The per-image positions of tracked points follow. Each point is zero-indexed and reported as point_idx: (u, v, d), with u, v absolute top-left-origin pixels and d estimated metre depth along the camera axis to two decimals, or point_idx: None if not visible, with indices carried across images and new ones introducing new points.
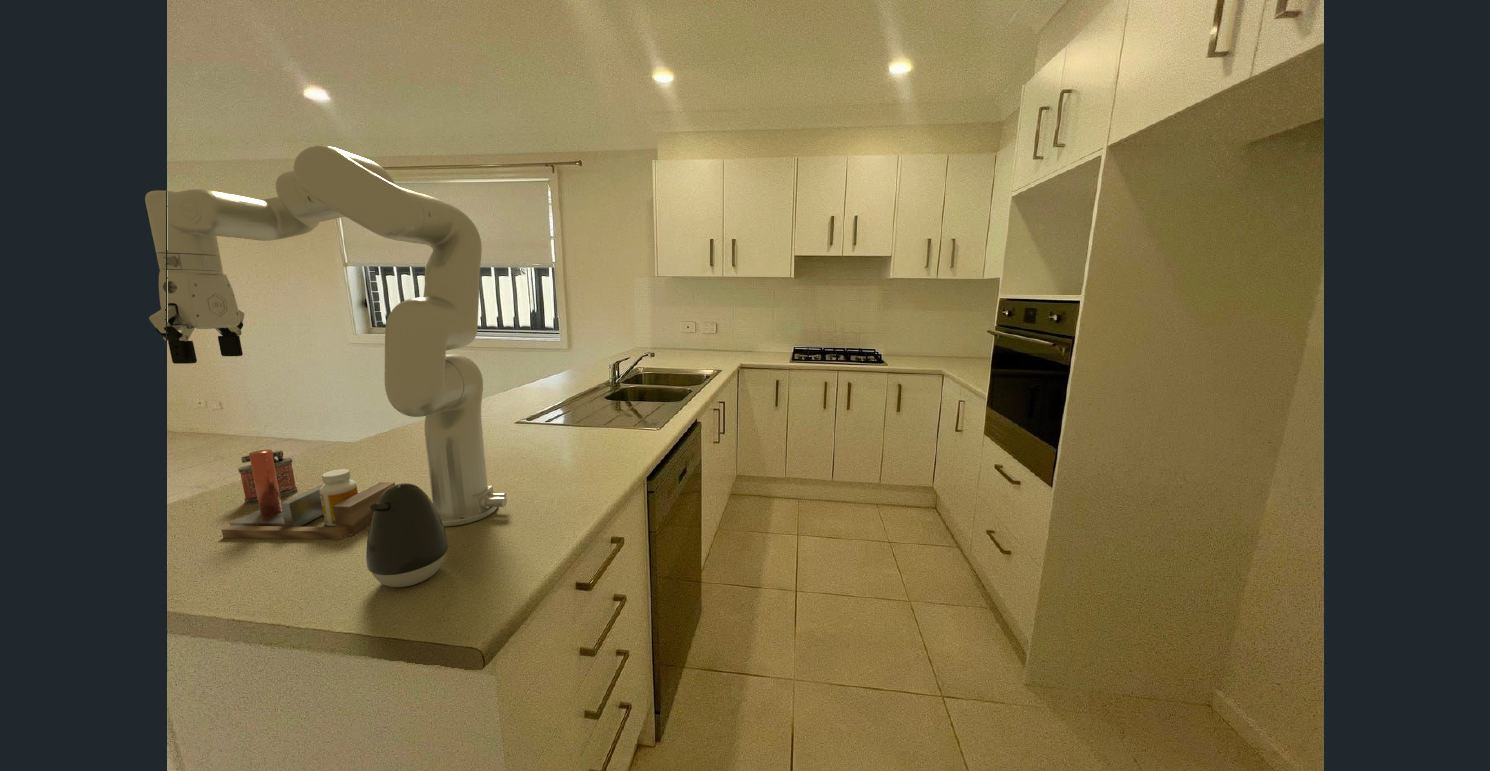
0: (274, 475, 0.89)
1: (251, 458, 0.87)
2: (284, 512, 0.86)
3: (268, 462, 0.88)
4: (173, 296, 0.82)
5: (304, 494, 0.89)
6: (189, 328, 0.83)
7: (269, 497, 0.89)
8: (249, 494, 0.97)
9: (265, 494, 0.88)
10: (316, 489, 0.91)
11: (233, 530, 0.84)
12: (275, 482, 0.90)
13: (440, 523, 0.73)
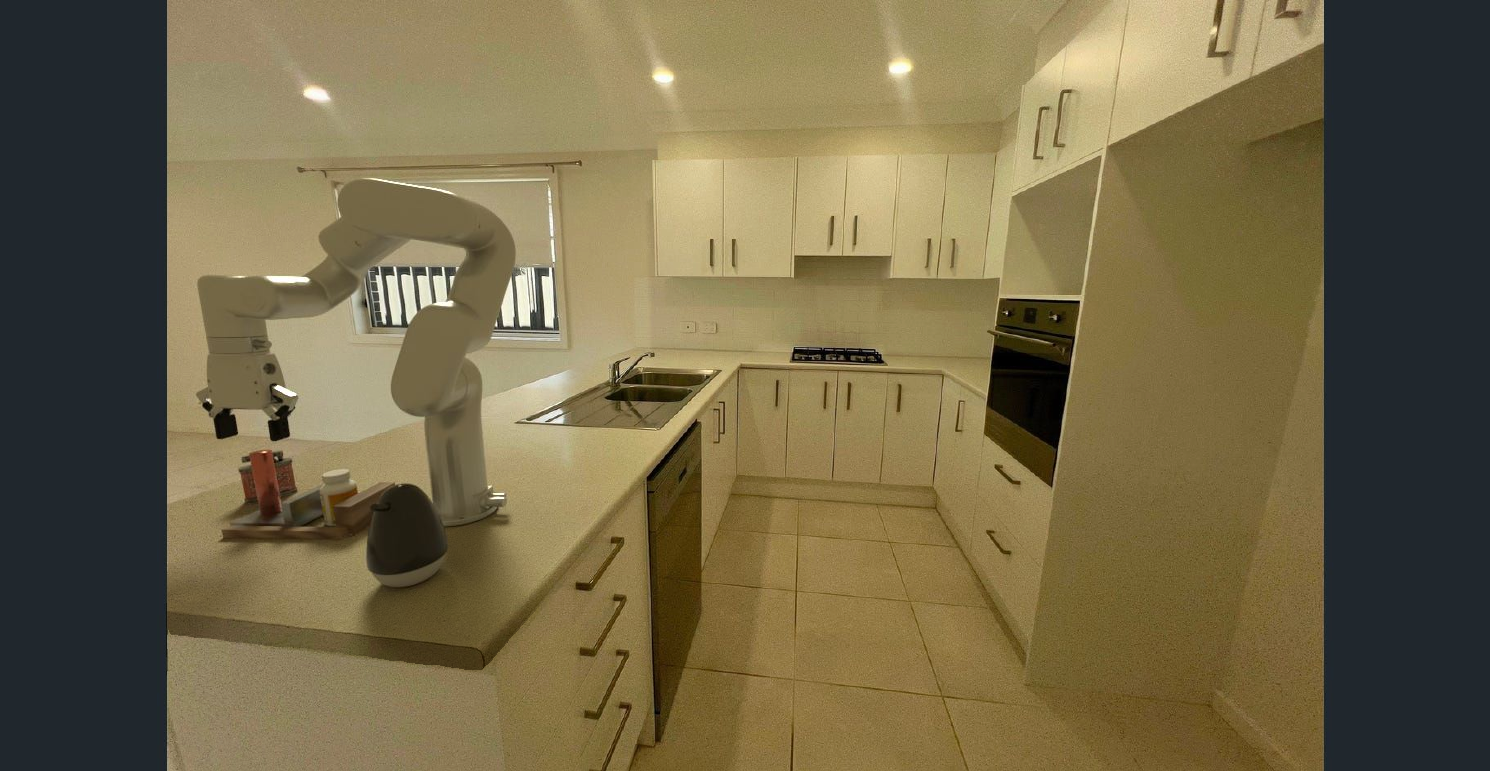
0: (274, 475, 0.89)
1: (251, 458, 0.87)
2: (284, 512, 0.86)
3: (268, 462, 0.88)
4: (274, 376, 0.86)
5: (304, 494, 0.89)
6: None
7: (269, 497, 0.89)
8: (249, 494, 0.97)
9: (265, 494, 0.88)
10: (316, 489, 0.91)
11: (233, 530, 0.84)
12: (275, 482, 0.90)
13: (440, 523, 0.73)
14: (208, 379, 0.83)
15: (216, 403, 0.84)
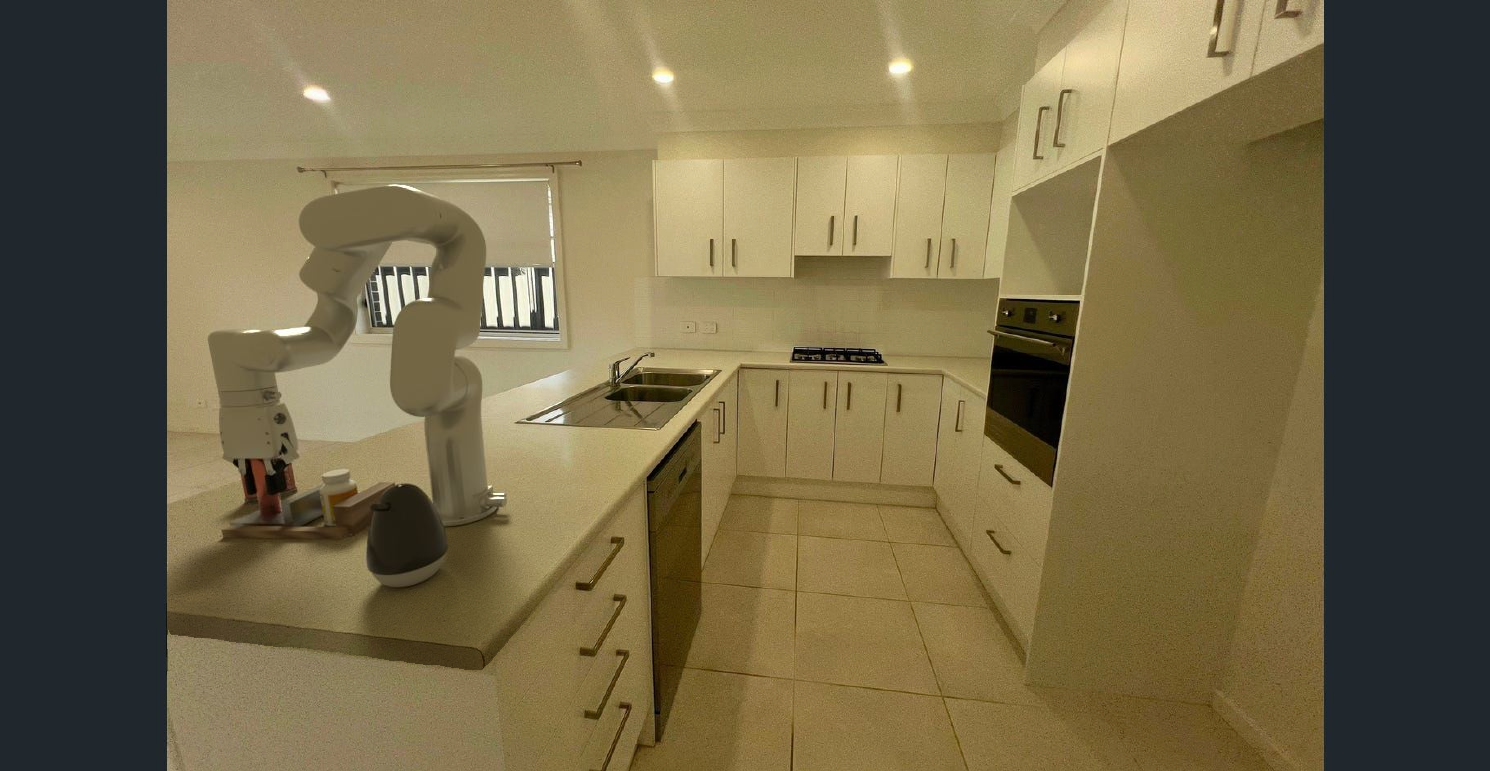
0: None
1: None
2: (284, 512, 0.86)
3: None
4: (284, 426, 0.88)
5: (304, 494, 0.89)
6: None
7: (269, 497, 0.89)
8: None
9: (265, 494, 0.88)
10: (316, 489, 0.91)
11: (233, 530, 0.84)
12: None
13: (440, 523, 0.73)
14: (220, 431, 0.85)
15: (229, 454, 0.86)
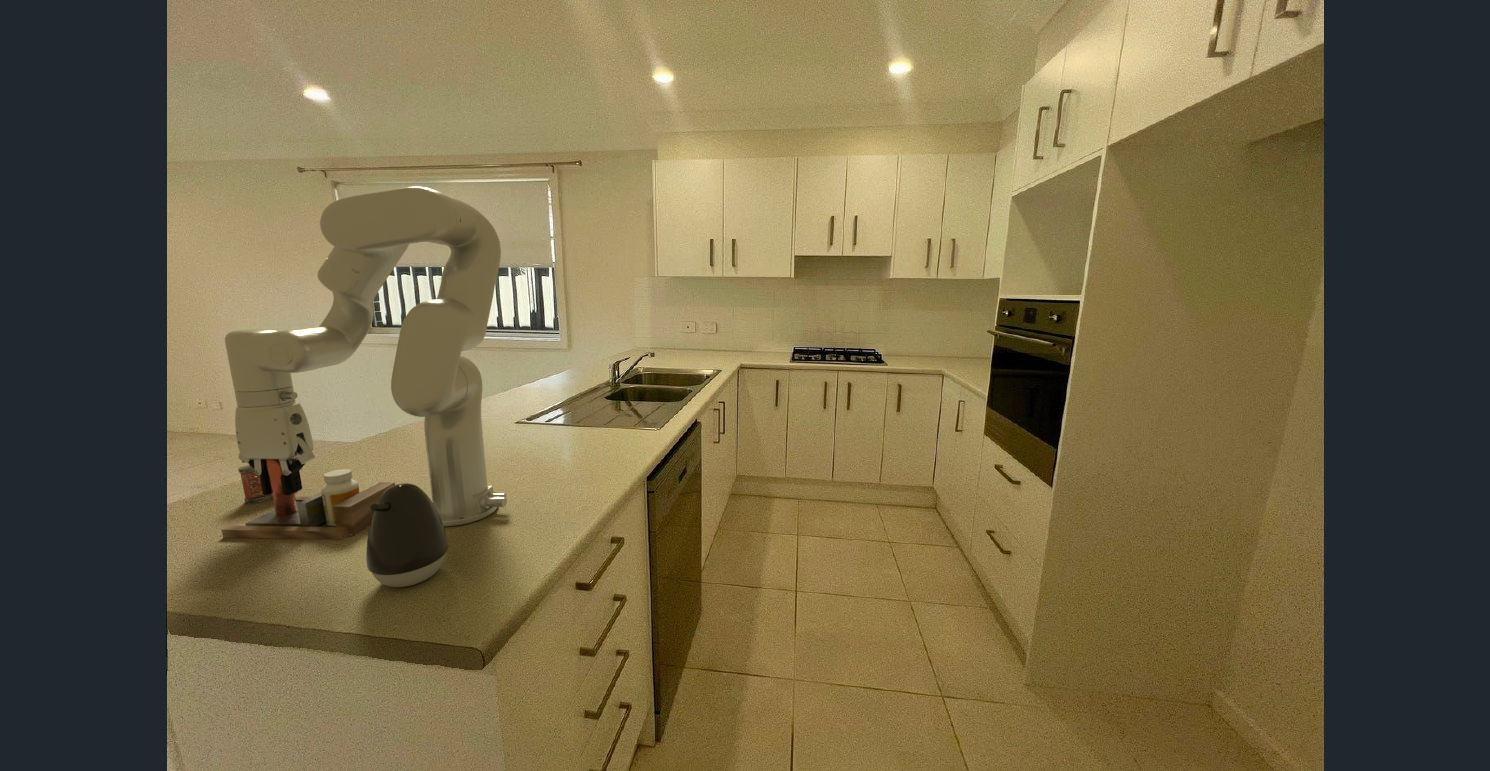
0: None
1: None
2: (300, 512, 0.86)
3: None
4: (300, 426, 0.88)
5: (319, 494, 0.89)
6: None
7: (284, 497, 0.89)
8: (249, 494, 0.97)
9: (280, 494, 0.88)
10: None
11: (233, 530, 0.84)
12: None
13: (440, 523, 0.73)
14: (236, 432, 0.85)
15: (245, 454, 0.86)
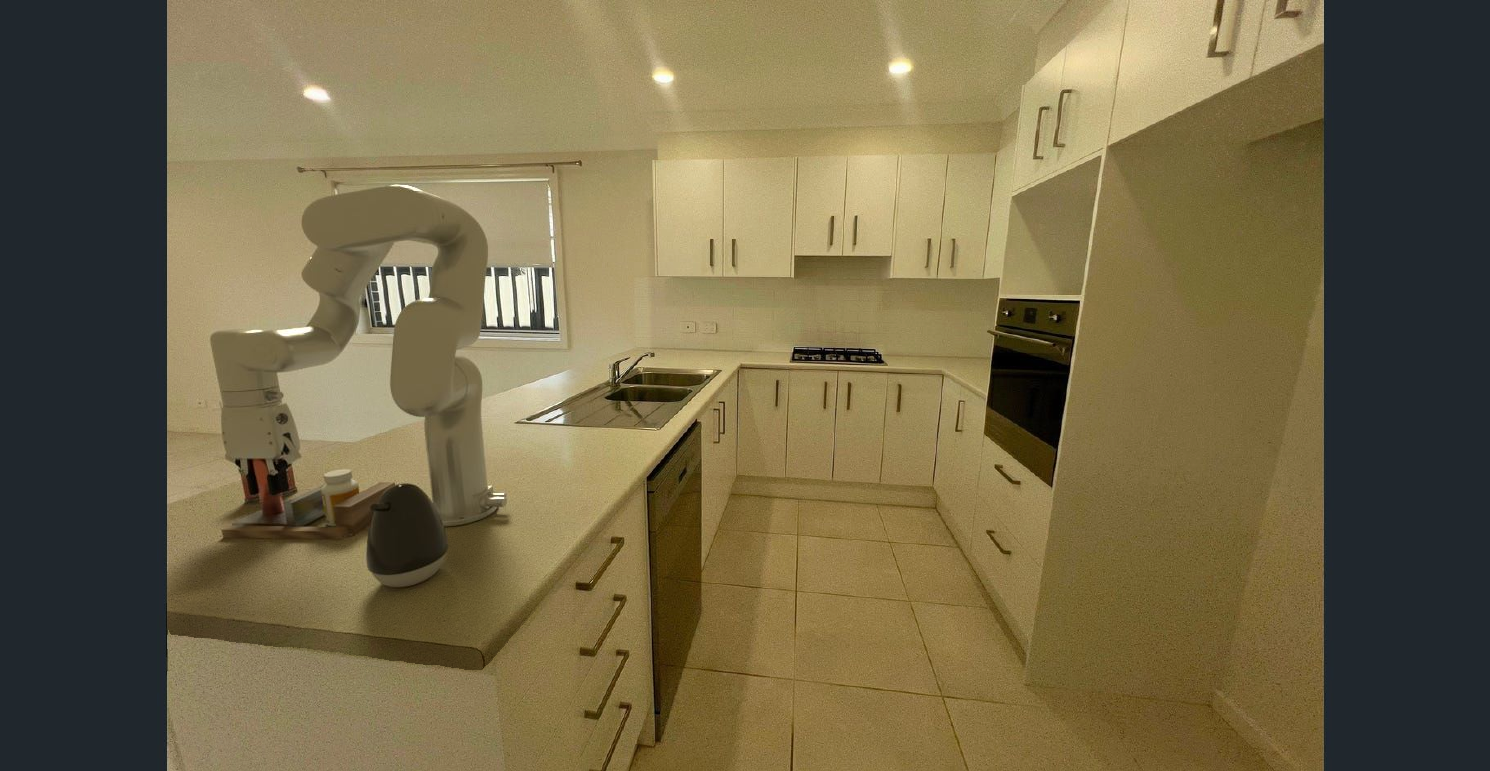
0: None
1: None
2: (286, 512, 0.86)
3: None
4: (286, 426, 0.88)
5: (306, 494, 0.89)
6: None
7: (271, 497, 0.89)
8: (249, 494, 0.97)
9: (267, 494, 0.88)
10: (318, 489, 0.91)
11: (233, 530, 0.84)
12: None
13: (440, 523, 0.73)
14: (222, 431, 0.85)
15: (231, 454, 0.86)
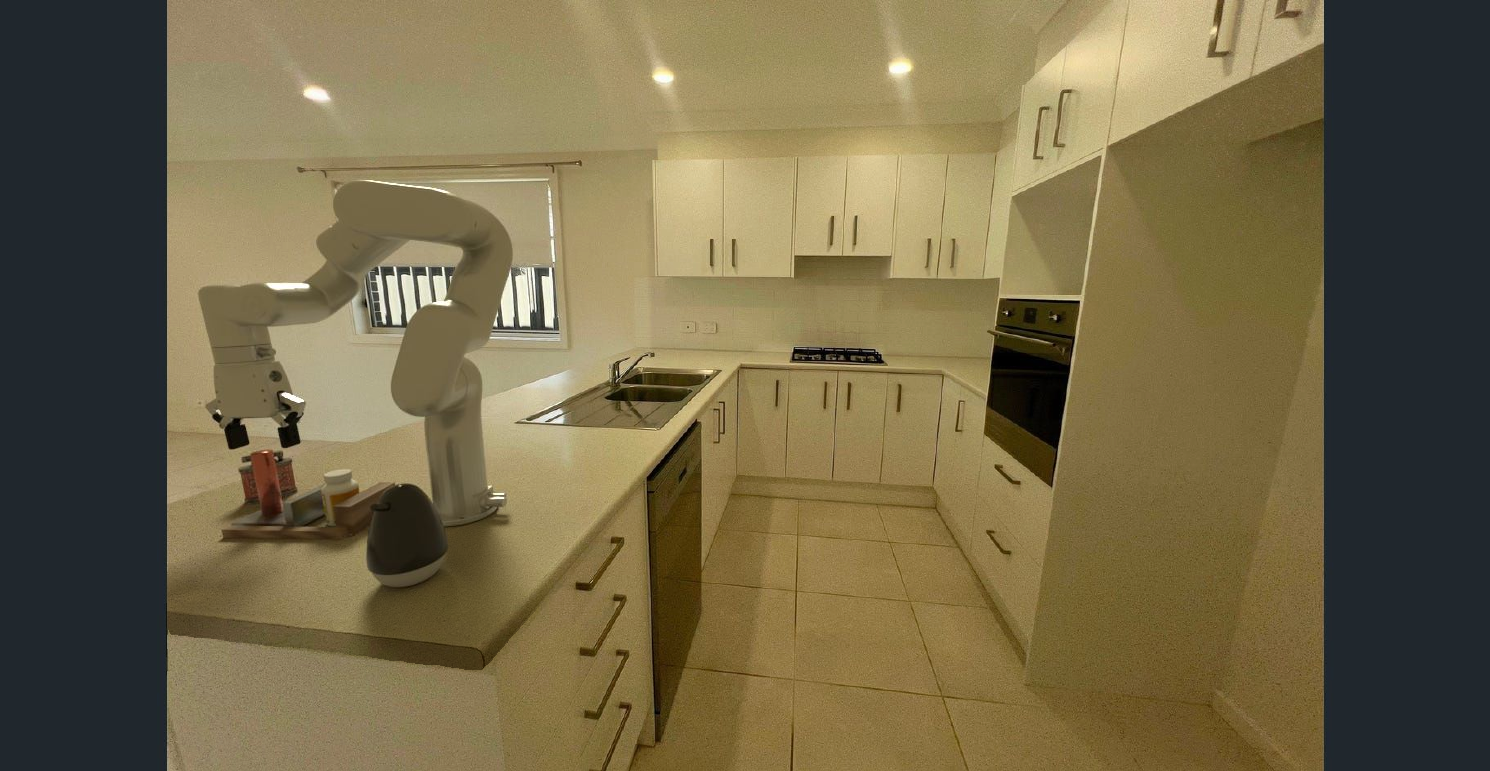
0: (275, 475, 0.89)
1: (252, 458, 0.87)
2: (285, 512, 0.86)
3: (269, 462, 0.88)
4: (280, 384, 0.86)
5: (305, 494, 0.89)
6: None
7: (270, 497, 0.89)
8: (249, 494, 0.97)
9: (266, 494, 0.88)
10: (317, 489, 0.91)
11: (233, 530, 0.84)
12: (276, 482, 0.90)
13: (440, 523, 0.73)
14: (215, 390, 0.84)
15: (225, 413, 0.85)
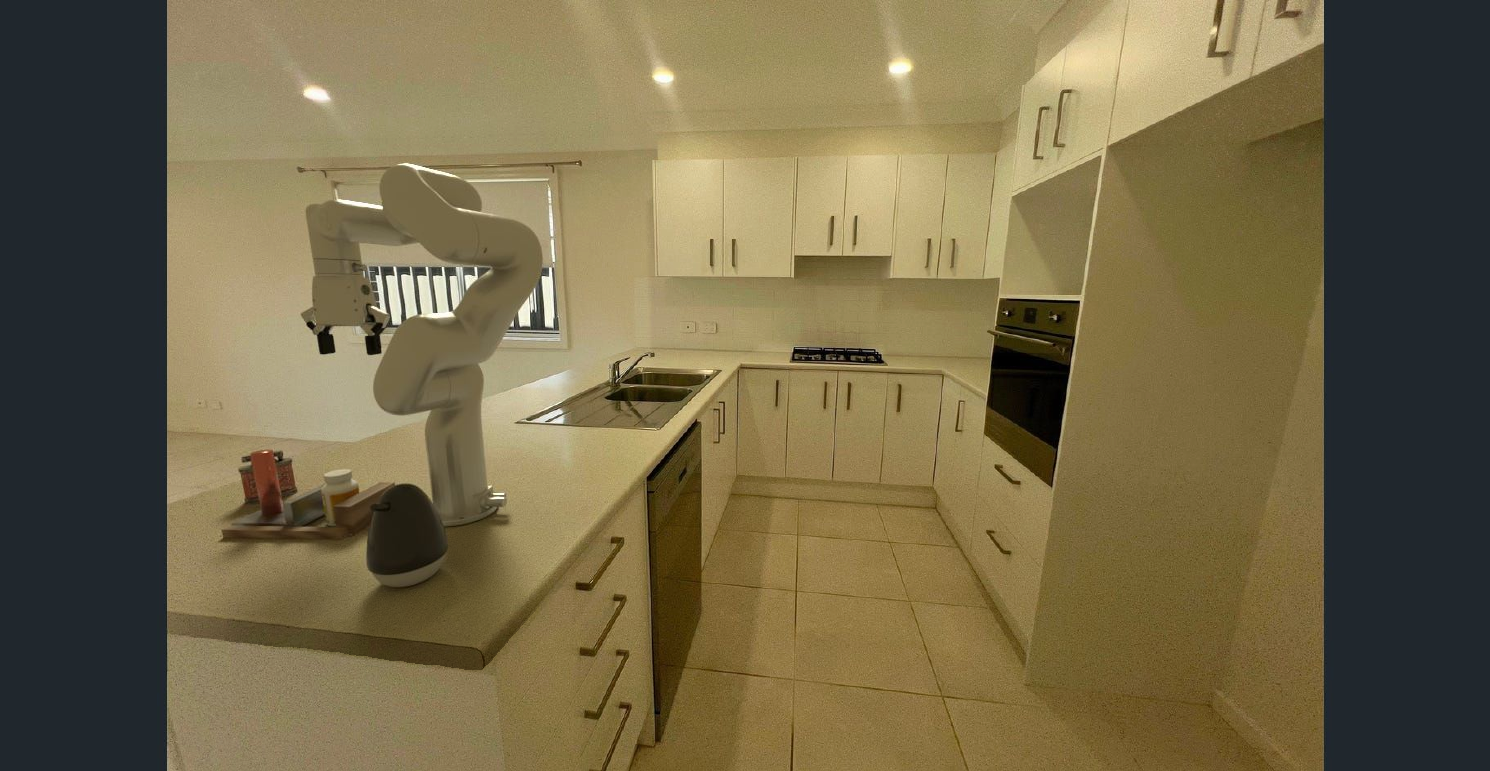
0: (275, 475, 0.89)
1: (252, 458, 0.87)
2: (285, 512, 0.86)
3: (269, 462, 0.88)
4: (369, 297, 0.97)
5: (305, 494, 0.89)
6: None
7: (270, 497, 0.89)
8: (249, 494, 0.97)
9: (266, 494, 0.88)
10: (317, 489, 0.91)
11: (233, 530, 0.84)
12: (276, 482, 0.90)
13: (440, 523, 0.73)
14: (313, 299, 0.94)
15: (320, 320, 0.95)
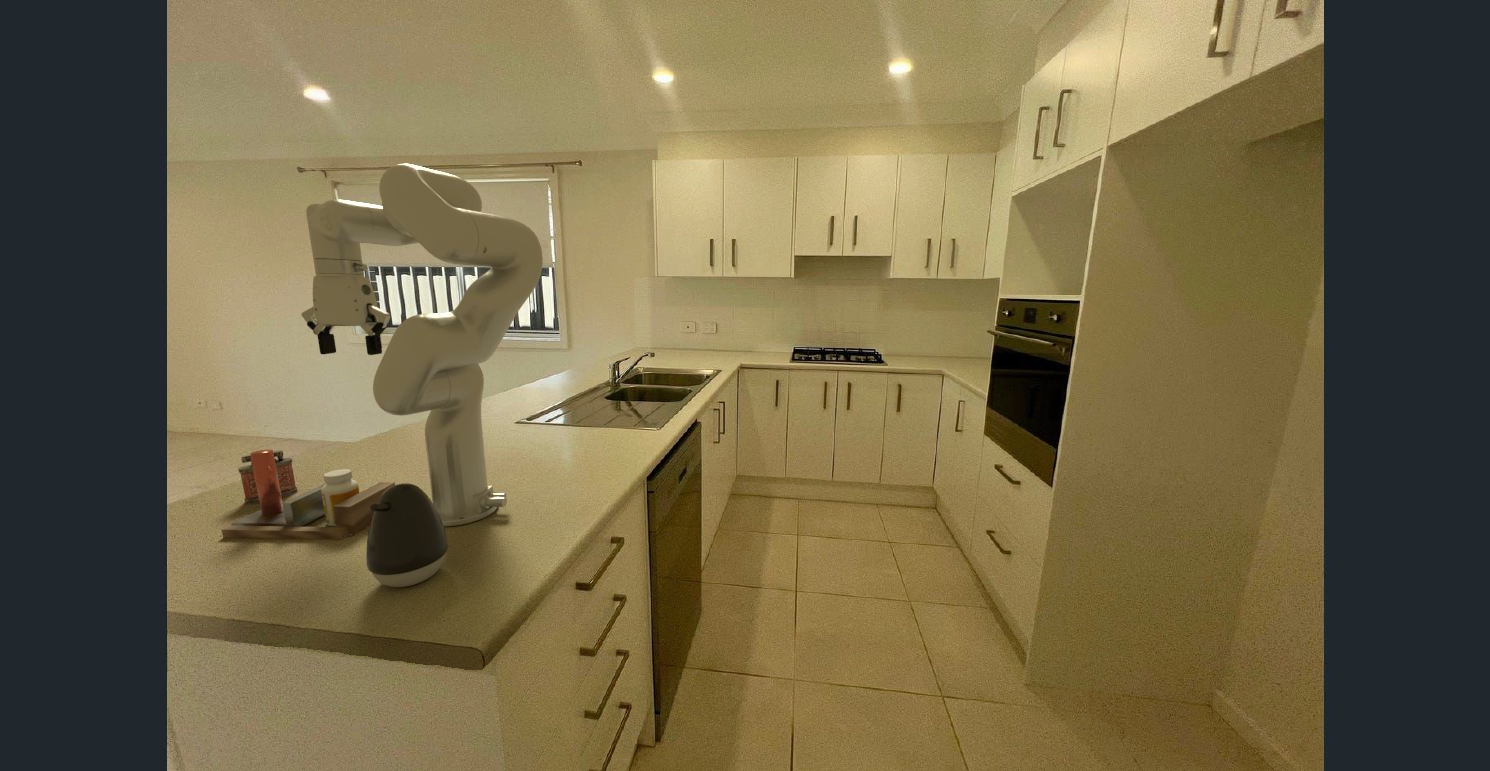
0: (275, 475, 0.89)
1: (252, 458, 0.87)
2: (285, 512, 0.86)
3: (269, 462, 0.88)
4: (369, 297, 0.97)
5: (305, 494, 0.89)
6: None
7: (270, 497, 0.89)
8: (249, 494, 0.97)
9: (266, 494, 0.88)
10: (317, 489, 0.91)
11: (233, 530, 0.84)
12: (276, 482, 0.90)
13: (440, 523, 0.73)
14: (313, 299, 0.95)
15: (321, 320, 0.95)
